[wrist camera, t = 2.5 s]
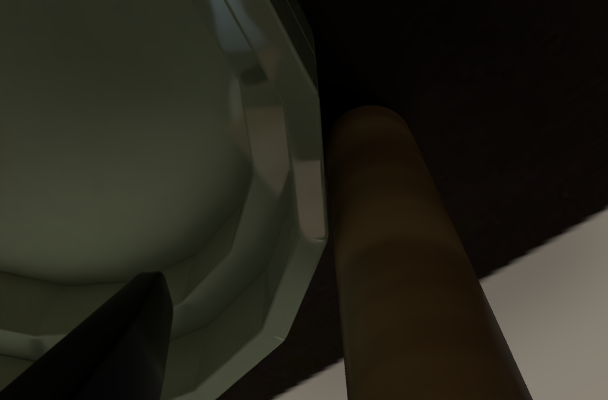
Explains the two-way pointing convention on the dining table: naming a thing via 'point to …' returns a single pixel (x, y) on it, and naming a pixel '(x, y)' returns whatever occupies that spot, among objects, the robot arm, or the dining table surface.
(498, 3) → the dining table surface
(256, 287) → the bowl
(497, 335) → the stick
